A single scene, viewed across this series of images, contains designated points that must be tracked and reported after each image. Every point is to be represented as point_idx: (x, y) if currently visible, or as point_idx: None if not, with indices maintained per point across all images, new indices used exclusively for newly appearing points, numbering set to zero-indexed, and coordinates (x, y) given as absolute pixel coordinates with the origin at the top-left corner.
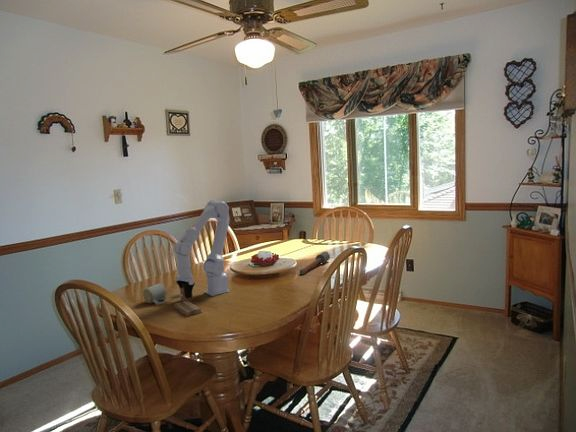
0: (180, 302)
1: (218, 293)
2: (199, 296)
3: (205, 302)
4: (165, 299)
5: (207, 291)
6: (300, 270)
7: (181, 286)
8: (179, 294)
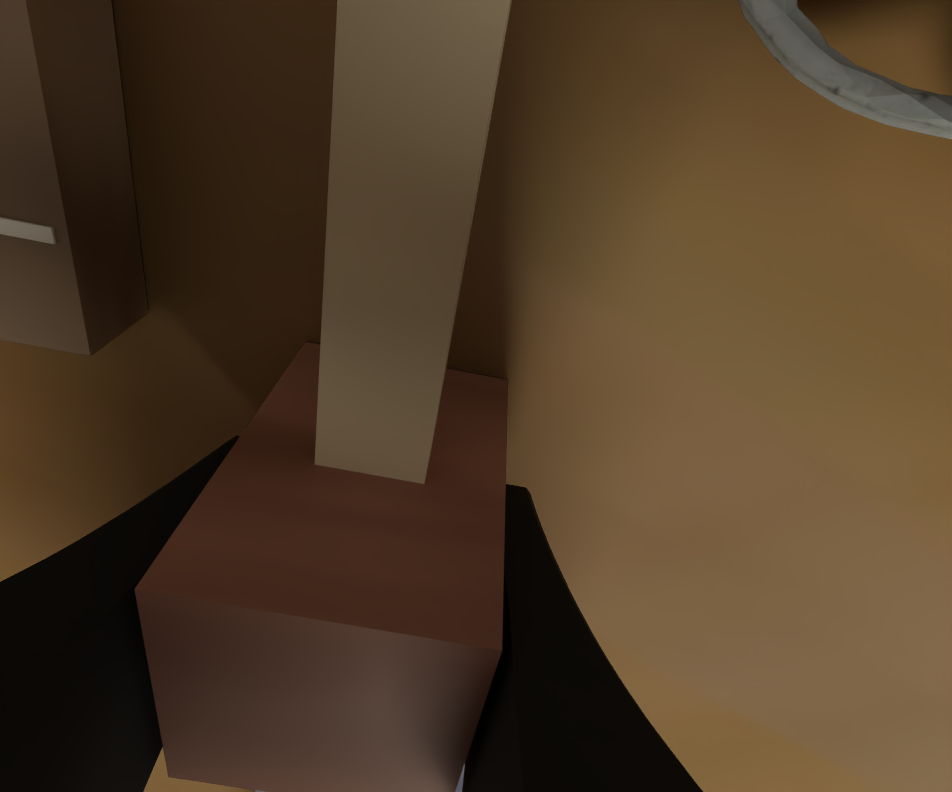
0: (11, 135)
1: None
2: None
3: (39, 542)
4: (783, 3)
5: (459, 780)
6: None
7: (502, 732)
8: (409, 415)
